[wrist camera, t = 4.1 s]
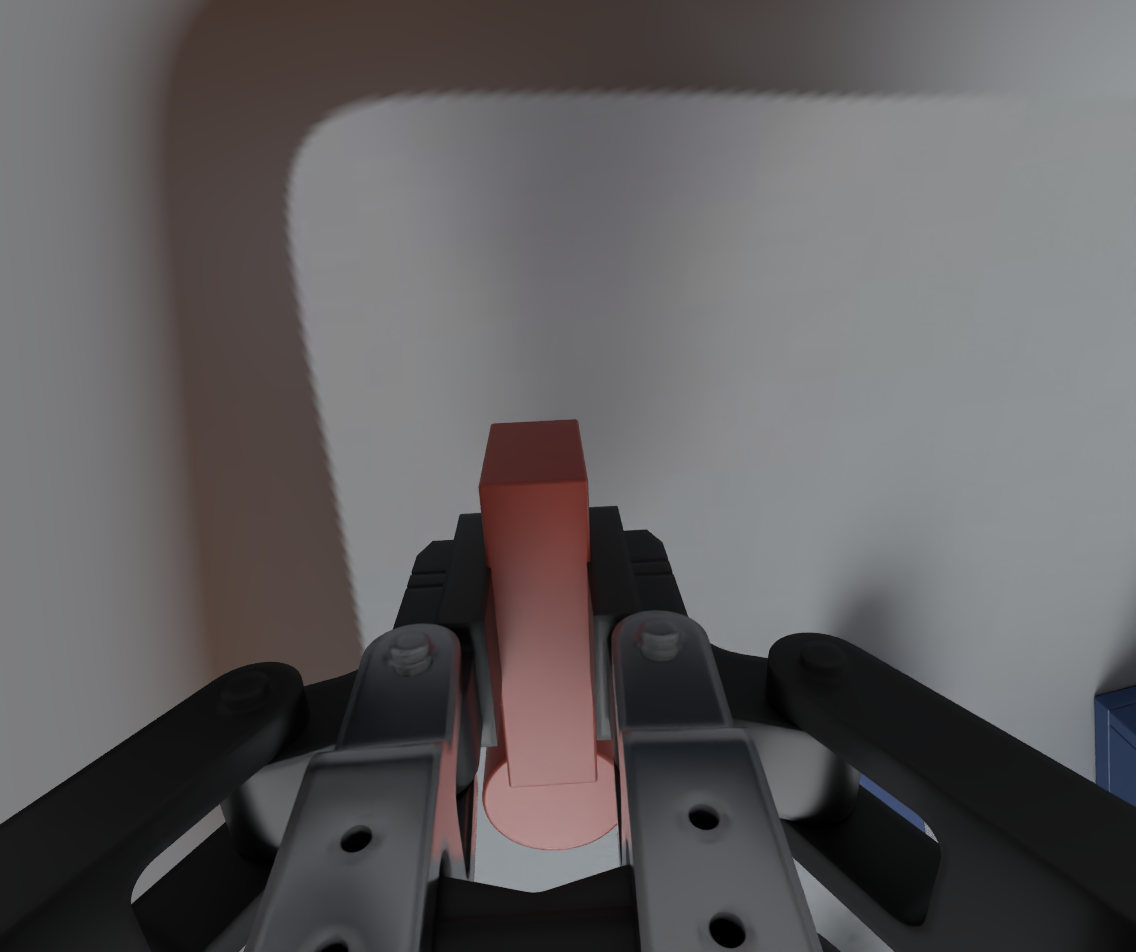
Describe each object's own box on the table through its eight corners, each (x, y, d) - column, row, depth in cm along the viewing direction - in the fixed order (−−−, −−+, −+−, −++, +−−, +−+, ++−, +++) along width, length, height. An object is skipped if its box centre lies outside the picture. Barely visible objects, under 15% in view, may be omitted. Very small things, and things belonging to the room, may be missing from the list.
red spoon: (451, 424, 12) (429, 487, 10) (615, 416, 12) (635, 476, 10) (494, 786, 16) (485, 902, 13) (620, 778, 16) (636, 892, 13)
